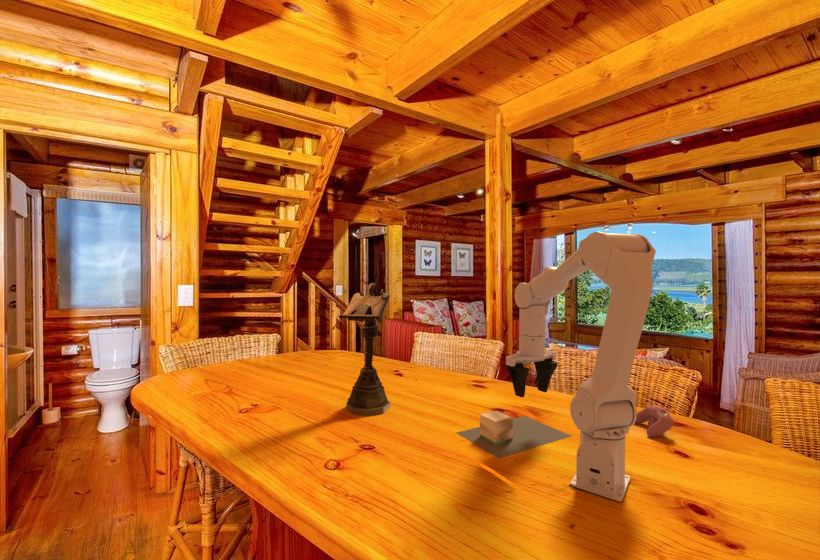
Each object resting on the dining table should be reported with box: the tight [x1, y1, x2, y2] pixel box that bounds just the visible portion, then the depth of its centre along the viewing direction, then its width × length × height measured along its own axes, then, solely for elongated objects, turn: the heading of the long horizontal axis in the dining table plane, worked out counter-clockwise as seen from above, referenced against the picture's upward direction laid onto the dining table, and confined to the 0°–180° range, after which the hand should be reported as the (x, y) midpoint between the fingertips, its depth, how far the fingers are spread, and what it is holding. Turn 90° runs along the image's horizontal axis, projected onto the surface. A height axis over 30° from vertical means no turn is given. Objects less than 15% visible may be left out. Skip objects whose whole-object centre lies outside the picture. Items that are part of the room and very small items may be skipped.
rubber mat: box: [455, 415, 572, 459], centre depth 87 cm, size 22×14×1 cm, turn 120°
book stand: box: [336, 282, 391, 417], centre depth 102 cm, size 17×13×35 cm
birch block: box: [479, 410, 514, 445], centre depth 84 cm, size 5×5×5 cm
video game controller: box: [634, 403, 675, 438], centre depth 91 cm, size 10×5×7 cm, turn 169°
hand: (531, 393), depth 88 cm, fingers open, 7 cm apart
